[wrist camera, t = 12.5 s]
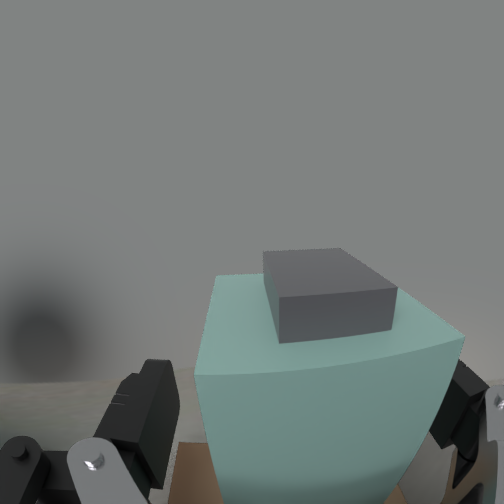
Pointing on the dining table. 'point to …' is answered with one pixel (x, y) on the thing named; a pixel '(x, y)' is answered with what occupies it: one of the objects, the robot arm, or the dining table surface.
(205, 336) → the block
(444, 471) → the dining table surface
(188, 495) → the walnut board
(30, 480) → the robot arm
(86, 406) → the dining table surface
